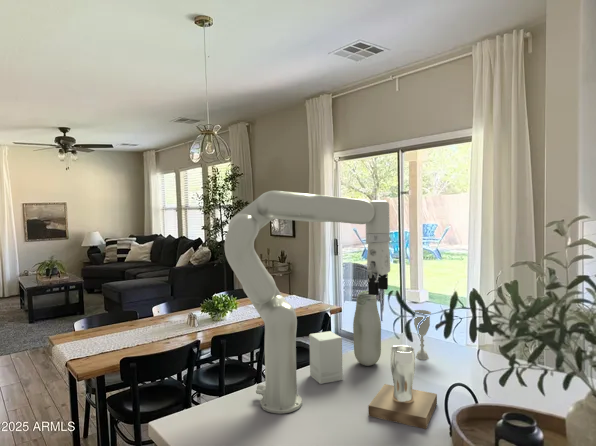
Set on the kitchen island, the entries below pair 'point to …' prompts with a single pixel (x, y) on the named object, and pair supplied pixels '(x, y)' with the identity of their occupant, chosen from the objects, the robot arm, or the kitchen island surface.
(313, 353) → the supplement box
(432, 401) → the walnut board
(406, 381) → the beer glass
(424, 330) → the chalice
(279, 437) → the kitchen island surface
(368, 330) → the grey bottle
